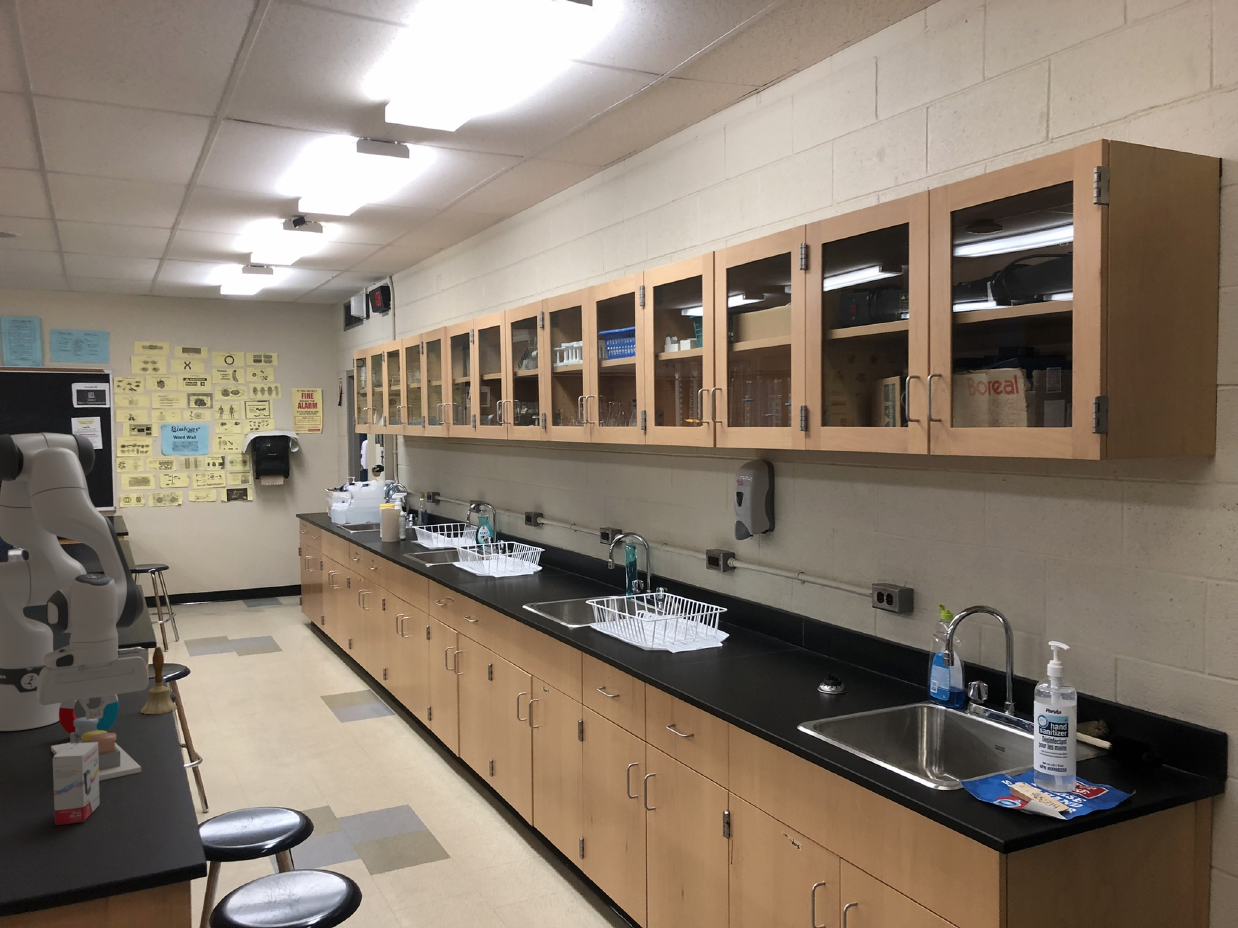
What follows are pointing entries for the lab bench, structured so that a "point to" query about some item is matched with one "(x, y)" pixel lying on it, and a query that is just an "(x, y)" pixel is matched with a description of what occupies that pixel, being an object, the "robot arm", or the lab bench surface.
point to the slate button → (84, 726)
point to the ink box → (76, 782)
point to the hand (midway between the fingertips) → (94, 718)
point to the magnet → (103, 723)
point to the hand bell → (158, 689)
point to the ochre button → (87, 735)
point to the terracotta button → (104, 742)
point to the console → (107, 760)
